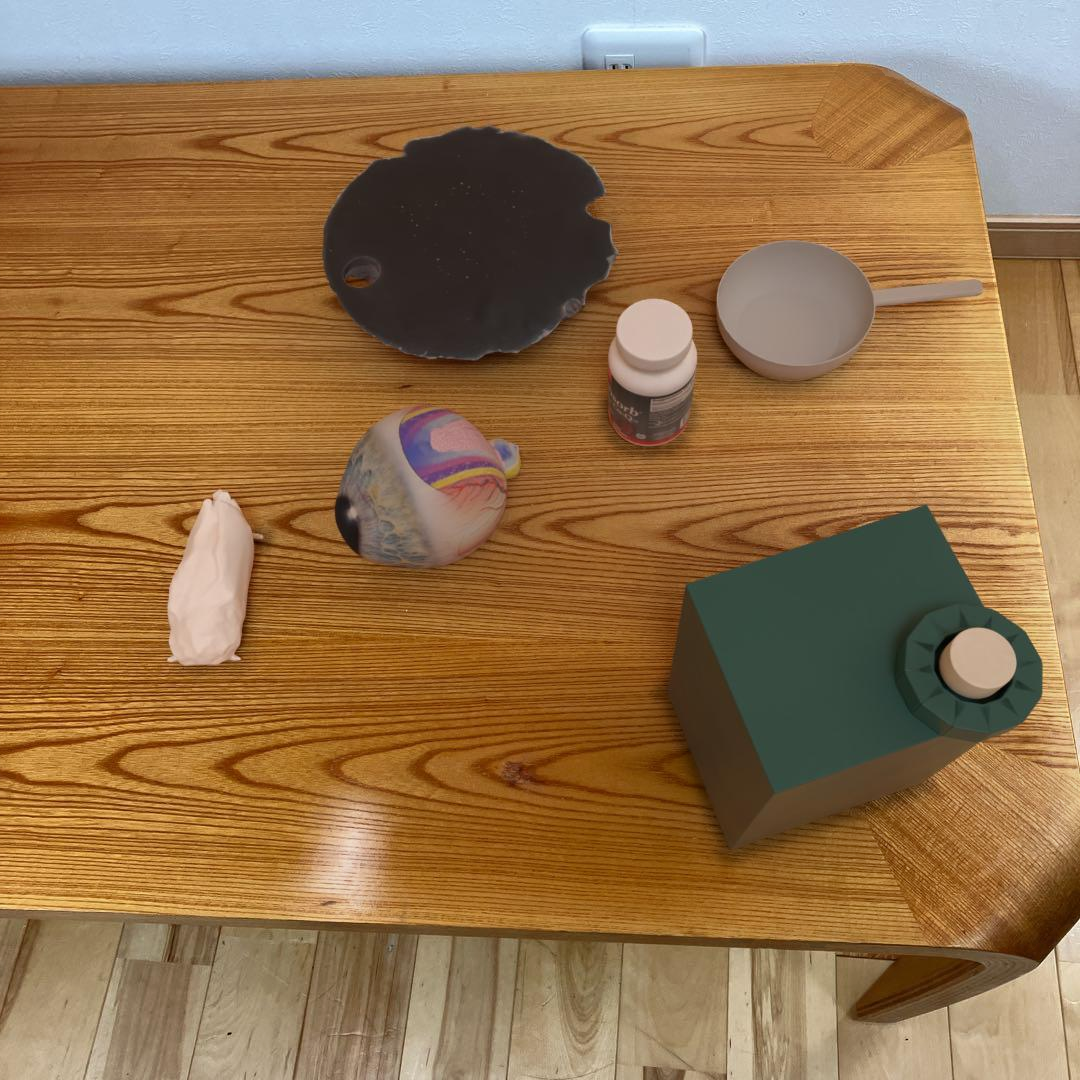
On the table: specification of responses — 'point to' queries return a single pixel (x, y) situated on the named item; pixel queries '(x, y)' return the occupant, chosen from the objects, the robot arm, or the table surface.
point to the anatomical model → (423, 488)
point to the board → (468, 243)
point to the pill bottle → (651, 372)
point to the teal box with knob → (834, 675)
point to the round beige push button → (977, 663)
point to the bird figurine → (211, 585)
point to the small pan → (806, 308)
